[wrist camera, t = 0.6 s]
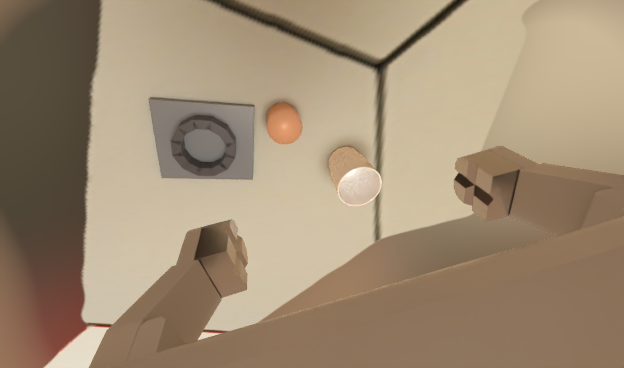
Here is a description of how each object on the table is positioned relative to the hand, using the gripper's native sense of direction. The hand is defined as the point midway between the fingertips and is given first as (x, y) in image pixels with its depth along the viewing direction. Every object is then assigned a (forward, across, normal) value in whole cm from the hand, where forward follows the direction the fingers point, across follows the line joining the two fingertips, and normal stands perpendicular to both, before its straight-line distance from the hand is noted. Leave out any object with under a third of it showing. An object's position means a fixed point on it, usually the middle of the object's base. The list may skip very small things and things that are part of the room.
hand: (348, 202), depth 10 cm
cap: (+41, +1, +10) cm, 42 cm away
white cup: (+41, -8, +21) cm, 47 cm away
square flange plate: (+41, +15, +10) cm, 45 cm away
